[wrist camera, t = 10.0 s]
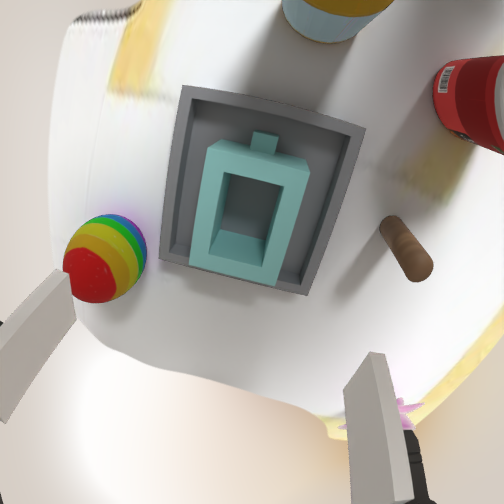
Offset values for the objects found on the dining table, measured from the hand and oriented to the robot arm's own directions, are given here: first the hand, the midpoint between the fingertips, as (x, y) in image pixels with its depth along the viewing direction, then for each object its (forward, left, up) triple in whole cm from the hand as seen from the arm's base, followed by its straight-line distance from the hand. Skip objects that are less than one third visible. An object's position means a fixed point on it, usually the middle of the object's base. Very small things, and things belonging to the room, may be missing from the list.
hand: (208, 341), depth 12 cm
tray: (-1, 0, -19) cm, 19 cm away
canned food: (-16, +17, -19) cm, 30 cm away
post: (-1, +14, -19) cm, 23 cm away
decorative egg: (+8, -13, -19) cm, 25 cm away
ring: (0, 0, -18) cm, 18 cm away
